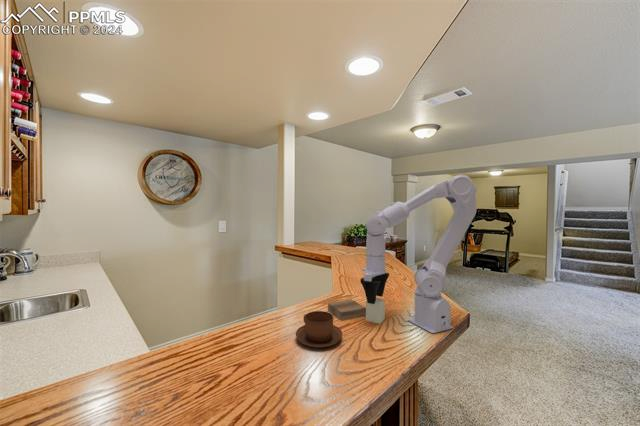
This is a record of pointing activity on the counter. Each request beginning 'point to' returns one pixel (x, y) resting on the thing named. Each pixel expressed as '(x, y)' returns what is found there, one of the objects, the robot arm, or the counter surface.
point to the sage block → (375, 311)
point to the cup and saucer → (318, 330)
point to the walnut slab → (346, 309)
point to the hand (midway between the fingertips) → (375, 299)
